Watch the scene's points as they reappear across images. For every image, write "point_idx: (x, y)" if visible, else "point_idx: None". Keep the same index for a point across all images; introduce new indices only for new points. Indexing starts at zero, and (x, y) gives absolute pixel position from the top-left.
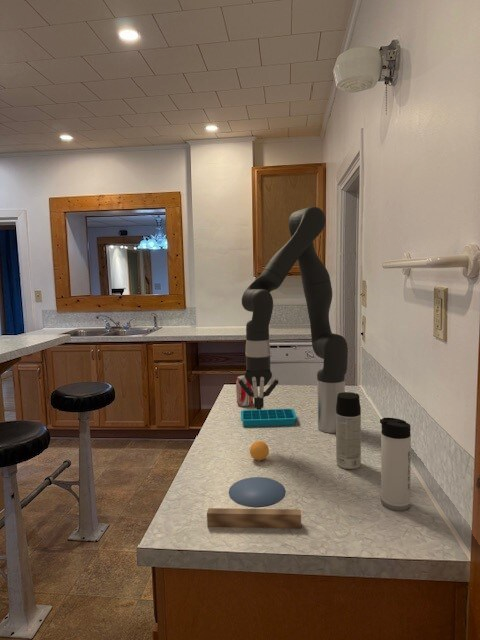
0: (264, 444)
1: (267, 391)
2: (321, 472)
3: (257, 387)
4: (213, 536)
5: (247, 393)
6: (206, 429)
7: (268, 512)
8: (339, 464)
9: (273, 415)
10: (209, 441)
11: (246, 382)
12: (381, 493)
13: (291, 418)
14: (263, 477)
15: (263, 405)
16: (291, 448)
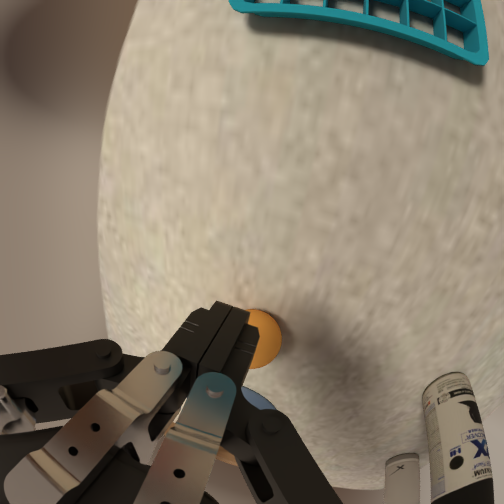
0: (260, 365)
1: (249, 477)
2: (376, 403)
3: (139, 423)
4: None
5: (95, 388)
6: (123, 47)
7: (231, 463)
8: (422, 401)
9: None
10: (124, 147)
11: (28, 422)
12: (389, 469)
13: (467, 56)
14: (250, 390)
15: (253, 355)
16: (384, 280)
